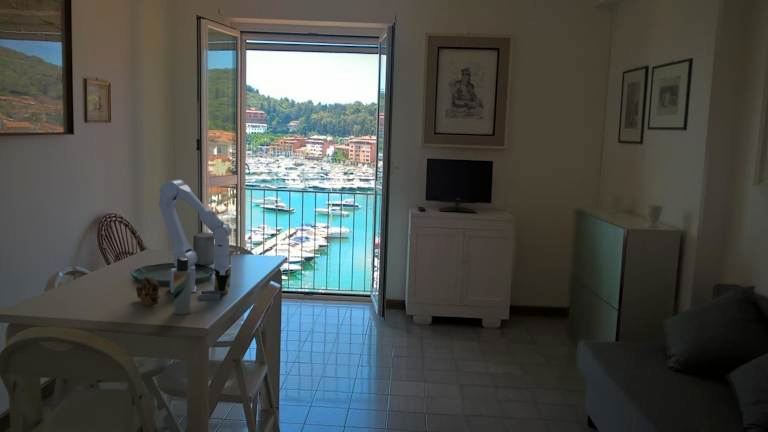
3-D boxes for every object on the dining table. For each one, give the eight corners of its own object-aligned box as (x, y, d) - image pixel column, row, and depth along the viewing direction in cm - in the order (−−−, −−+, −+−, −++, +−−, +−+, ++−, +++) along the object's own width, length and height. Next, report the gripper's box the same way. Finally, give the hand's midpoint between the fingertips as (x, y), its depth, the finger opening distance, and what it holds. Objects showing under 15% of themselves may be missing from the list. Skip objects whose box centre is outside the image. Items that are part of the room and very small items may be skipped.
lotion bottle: (184, 309, 220) (185, 254, 217) (193, 312, 217) (194, 257, 214) (170, 312, 216) (170, 257, 213) (179, 316, 213) (179, 260, 210)
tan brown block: (214, 293, 241) (214, 279, 240) (214, 291, 244) (214, 277, 243) (227, 293, 243) (227, 278, 242) (227, 291, 246) (227, 276, 245)
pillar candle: (193, 260, 294) (193, 229, 292) (214, 259, 297) (214, 229, 294) (193, 265, 285) (193, 233, 282) (214, 264, 288) (215, 233, 285)
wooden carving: (131, 300, 227) (131, 274, 226) (143, 298, 230) (143, 272, 229) (152, 311, 216) (152, 284, 215) (164, 309, 219) (164, 282, 218)
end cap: (199, 299, 232) (199, 294, 232) (199, 295, 237) (199, 290, 237) (220, 299, 235) (220, 294, 234) (219, 295, 240) (219, 290, 239)
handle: (228, 286, 252) (229, 251, 250) (215, 284, 254) (216, 249, 252) (235, 284, 257) (236, 249, 254) (222, 282, 259) (223, 247, 257)
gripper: (233, 258, 236) (232, 293, 237) (231, 251, 249) (230, 283, 251) (214, 259, 233) (214, 293, 235) (213, 251, 247) (212, 283, 249)
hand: (221, 288), depth 243 cm, fingers open, 7 cm apart
